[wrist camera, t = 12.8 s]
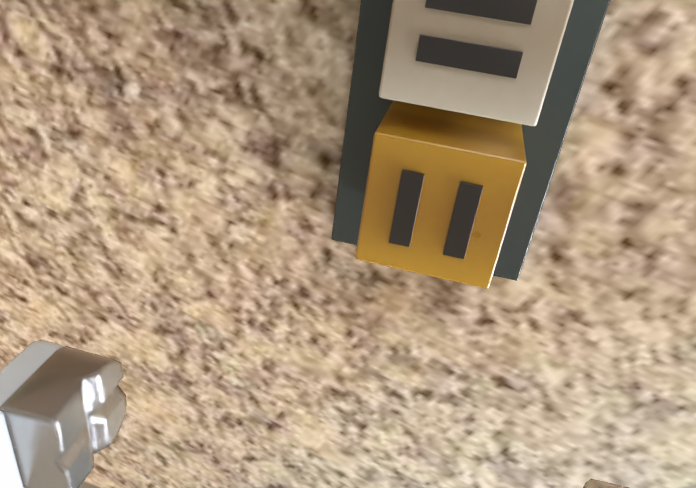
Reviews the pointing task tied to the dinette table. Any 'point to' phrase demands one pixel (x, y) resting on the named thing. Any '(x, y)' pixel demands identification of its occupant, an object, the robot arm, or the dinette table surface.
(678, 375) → the dinette table surface
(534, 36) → the tile
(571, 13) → the slate board
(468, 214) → the yellow striped cube
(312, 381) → the dinette table surface
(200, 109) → the dinette table surface
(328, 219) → the dinette table surface
